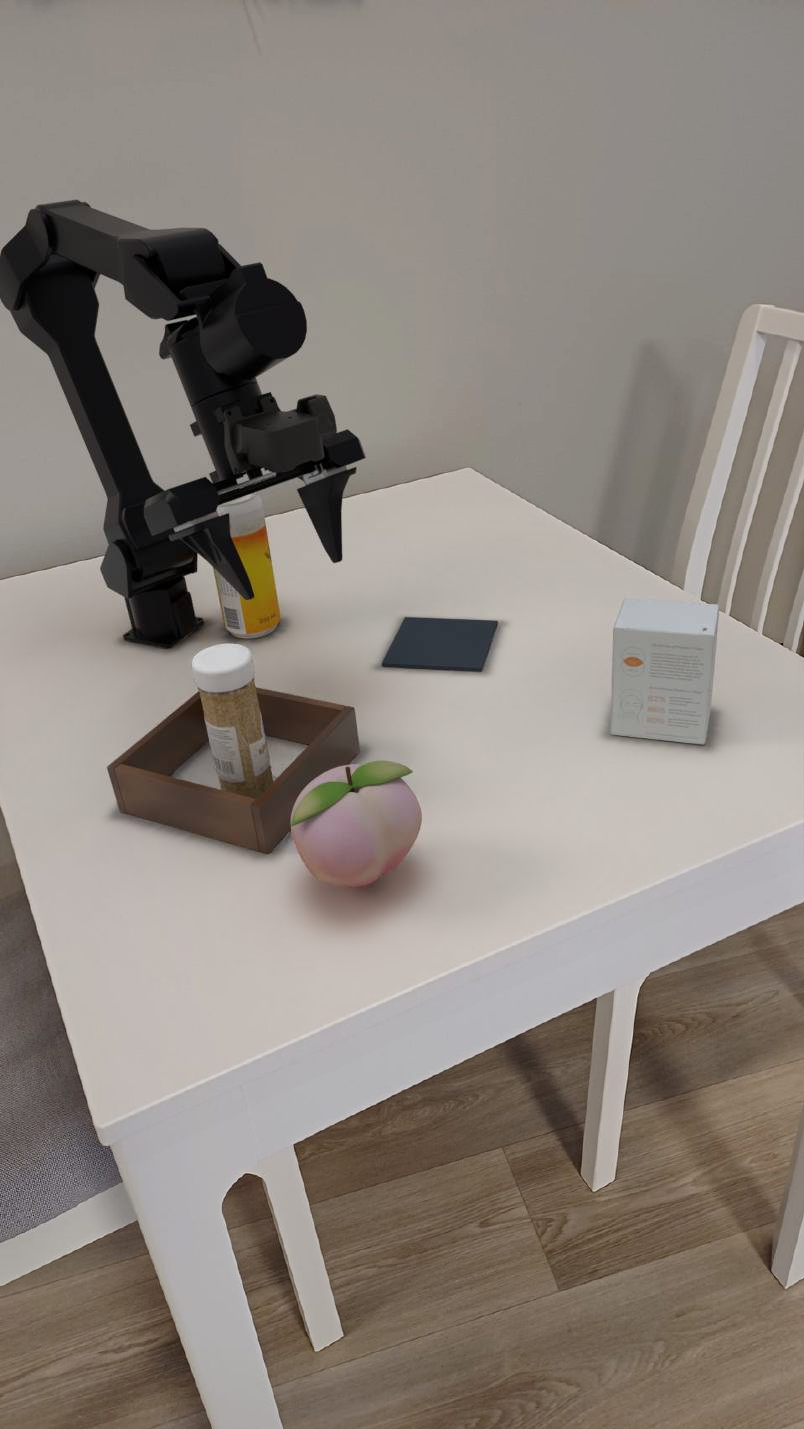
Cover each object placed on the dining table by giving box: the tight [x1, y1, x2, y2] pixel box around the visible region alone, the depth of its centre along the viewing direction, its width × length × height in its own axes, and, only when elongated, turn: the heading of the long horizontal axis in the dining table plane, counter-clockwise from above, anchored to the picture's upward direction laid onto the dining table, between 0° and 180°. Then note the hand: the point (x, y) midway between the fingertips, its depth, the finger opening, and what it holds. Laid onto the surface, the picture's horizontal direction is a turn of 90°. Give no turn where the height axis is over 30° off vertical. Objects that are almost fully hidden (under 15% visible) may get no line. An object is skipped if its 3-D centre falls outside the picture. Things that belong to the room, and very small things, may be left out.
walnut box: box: [106, 686, 361, 855], centre depth 82 cm, size 15×15×4 cm
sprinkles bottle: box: [191, 643, 274, 799], centre depth 77 cm, size 5×5×13 cm
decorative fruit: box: [290, 760, 423, 888], centre depth 69 cm, size 9×8×10 cm
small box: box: [609, 597, 720, 745], centre depth 83 cm, size 8×6×10 cm
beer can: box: [212, 492, 282, 640], centre depth 103 cm, size 6×6×15 cm
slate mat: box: [381, 616, 499, 673], centre depth 101 cm, size 10×10×1 cm
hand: (295, 580), depth 83 cm, fingers open, 9 cm apart
